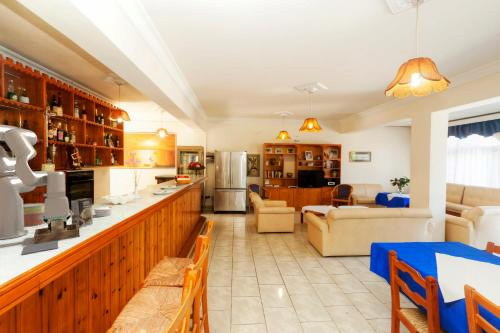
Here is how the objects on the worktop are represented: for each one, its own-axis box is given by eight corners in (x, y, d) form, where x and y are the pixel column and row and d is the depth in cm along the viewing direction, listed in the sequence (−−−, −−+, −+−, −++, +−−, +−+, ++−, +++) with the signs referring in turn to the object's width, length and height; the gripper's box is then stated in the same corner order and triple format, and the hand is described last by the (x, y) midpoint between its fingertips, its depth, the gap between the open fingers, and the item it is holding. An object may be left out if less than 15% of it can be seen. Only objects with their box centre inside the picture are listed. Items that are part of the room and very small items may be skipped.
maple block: (51, 233, 126) (51, 221, 126) (51, 230, 130) (51, 219, 130) (63, 231, 130) (63, 220, 129) (63, 229, 133) (63, 218, 133)
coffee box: (80, 228, 146) (79, 200, 145) (71, 227, 147) (70, 200, 146) (93, 223, 155) (92, 198, 154) (84, 223, 156) (83, 197, 155)
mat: (22, 255, 106) (22, 253, 106) (25, 246, 116) (25, 245, 116) (58, 248, 114) (58, 247, 114) (57, 241, 123) (57, 240, 123)
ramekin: (115, 215, 177) (114, 207, 177) (97, 218, 169) (97, 210, 169) (109, 212, 185) (109, 205, 184) (92, 215, 176) (92, 208, 176)
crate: (34, 244, 119) (33, 236, 119) (36, 236, 130) (35, 229, 130) (79, 236, 130) (79, 229, 130) (77, 230, 141) (77, 223, 141)
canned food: (26, 223, 156) (25, 204, 156) (48, 220, 162) (48, 202, 161) (19, 227, 146) (19, 207, 146) (44, 225, 152) (43, 205, 151)
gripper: (34, 197, 121) (35, 234, 122) (76, 194, 131) (77, 228, 132) (35, 195, 127) (36, 231, 128) (75, 192, 137) (76, 225, 138)
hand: (57, 229), depth 130 cm, fingers closed on maple block, 5 cm apart
